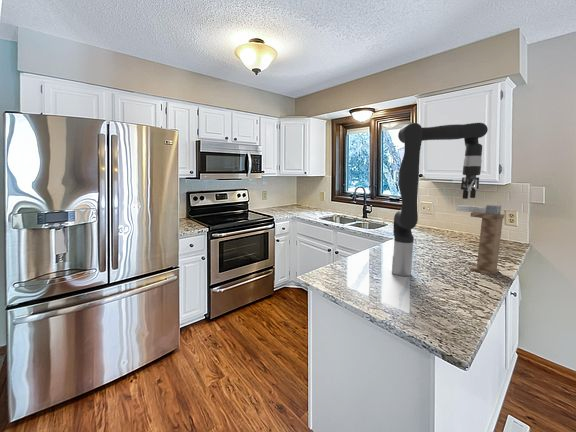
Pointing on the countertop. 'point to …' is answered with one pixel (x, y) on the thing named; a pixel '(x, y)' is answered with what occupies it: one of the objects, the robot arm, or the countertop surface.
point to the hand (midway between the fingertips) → (468, 198)
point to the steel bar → (481, 209)
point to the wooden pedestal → (488, 243)
